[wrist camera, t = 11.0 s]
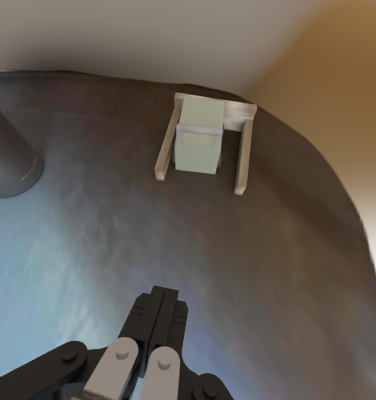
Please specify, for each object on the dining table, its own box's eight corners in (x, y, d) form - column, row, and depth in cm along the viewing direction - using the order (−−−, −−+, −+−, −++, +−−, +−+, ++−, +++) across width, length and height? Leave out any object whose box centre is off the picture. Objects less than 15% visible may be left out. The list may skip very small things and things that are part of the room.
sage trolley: (171, 169, 36) (168, 126, 28) (180, 124, 41) (180, 75, 33) (218, 175, 36) (229, 133, 28) (222, 129, 41) (232, 80, 32)
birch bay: (156, 179, 35) (153, 159, 31) (176, 116, 42) (175, 92, 37) (241, 195, 34) (250, 177, 30) (248, 128, 41) (256, 105, 36)
